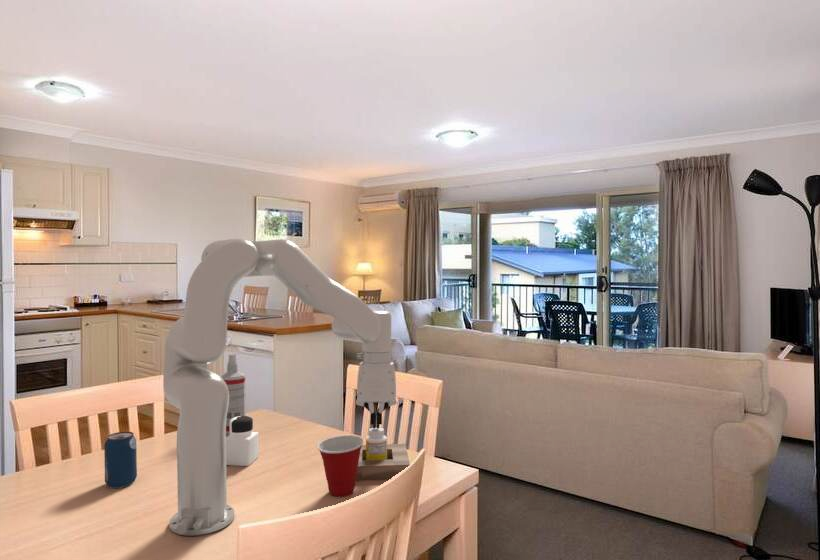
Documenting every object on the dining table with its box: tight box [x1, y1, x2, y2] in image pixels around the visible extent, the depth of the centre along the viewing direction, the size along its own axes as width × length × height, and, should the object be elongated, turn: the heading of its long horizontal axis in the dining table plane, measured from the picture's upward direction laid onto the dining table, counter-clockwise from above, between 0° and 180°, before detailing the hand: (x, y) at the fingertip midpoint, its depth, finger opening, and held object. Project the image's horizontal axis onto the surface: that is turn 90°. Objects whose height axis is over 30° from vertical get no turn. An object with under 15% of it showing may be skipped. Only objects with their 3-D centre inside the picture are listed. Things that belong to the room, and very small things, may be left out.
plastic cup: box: [317, 435, 364, 498], centre depth 126 cm, size 11×11×12 cm
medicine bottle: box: [226, 415, 260, 467], centre depth 146 cm, size 7×7×12 cm
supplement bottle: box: [365, 427, 388, 460], centre depth 141 cm, size 6×6×10 cm
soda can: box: [103, 431, 138, 489], centre depth 131 cm, size 7×7×12 cm
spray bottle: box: [219, 353, 247, 435], centre depth 173 cm, size 8×8×25 cm
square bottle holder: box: [356, 443, 411, 481], centre depth 141 cm, size 16×16×4 cm
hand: (376, 427), depth 141 cm, fingers closed
